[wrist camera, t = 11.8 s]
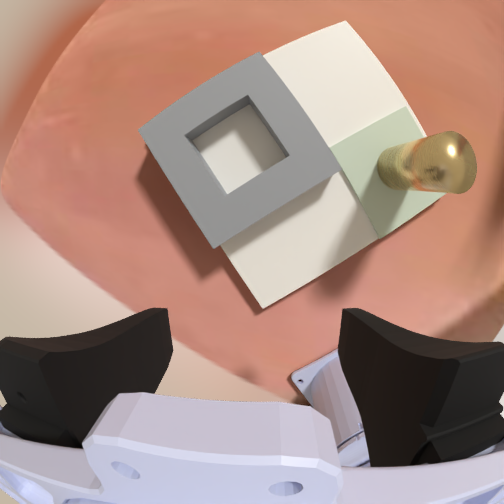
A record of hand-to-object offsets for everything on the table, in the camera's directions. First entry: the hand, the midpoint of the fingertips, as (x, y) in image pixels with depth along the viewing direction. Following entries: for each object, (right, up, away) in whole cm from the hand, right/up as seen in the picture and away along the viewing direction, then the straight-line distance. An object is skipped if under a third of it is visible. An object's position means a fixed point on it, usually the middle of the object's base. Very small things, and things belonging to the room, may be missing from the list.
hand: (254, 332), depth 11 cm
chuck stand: (+4, +10, +7) cm, 13 cm away
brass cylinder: (+10, +9, +6) cm, 14 cm away
